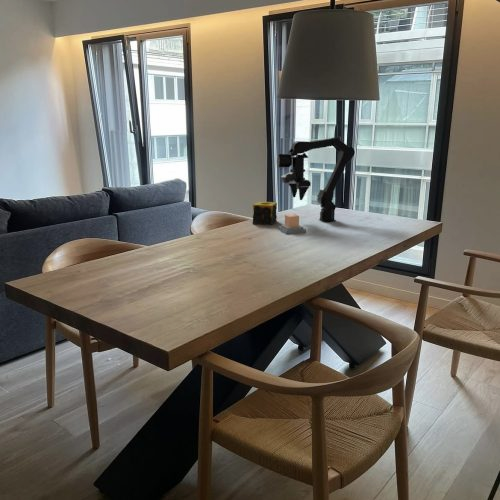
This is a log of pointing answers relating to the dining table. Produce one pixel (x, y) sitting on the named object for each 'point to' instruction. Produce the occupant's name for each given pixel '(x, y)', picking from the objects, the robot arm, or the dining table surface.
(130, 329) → the dining table surface
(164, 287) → the dining table surface
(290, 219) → the block
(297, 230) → the base
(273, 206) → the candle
